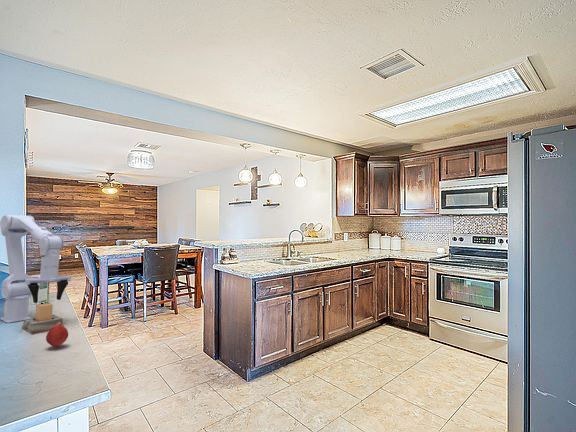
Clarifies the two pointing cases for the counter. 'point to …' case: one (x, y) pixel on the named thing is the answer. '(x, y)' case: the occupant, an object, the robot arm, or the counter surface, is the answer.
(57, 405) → the counter surface
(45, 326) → the socket block
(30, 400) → the counter surface
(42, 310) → the peg
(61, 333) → the onion
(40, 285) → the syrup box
